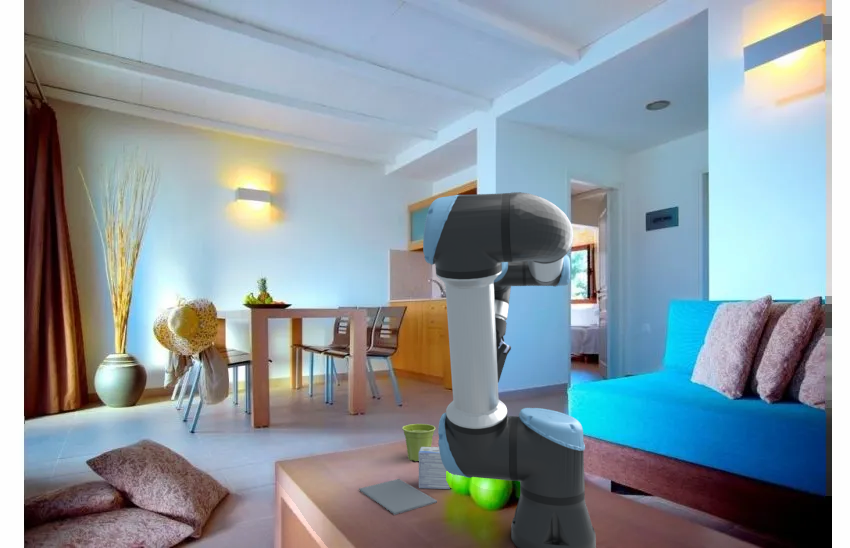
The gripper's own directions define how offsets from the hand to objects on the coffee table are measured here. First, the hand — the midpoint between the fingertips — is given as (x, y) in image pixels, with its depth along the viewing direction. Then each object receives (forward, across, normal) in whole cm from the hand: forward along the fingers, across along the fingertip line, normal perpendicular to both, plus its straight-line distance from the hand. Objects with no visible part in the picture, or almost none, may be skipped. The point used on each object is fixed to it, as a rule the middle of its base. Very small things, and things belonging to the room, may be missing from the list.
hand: (480, 411), depth 119 cm
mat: (+22, +9, +14) cm, 28 cm away
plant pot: (+15, +25, -5) cm, 30 cm away
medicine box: (+19, +8, +4) cm, 21 cm away
